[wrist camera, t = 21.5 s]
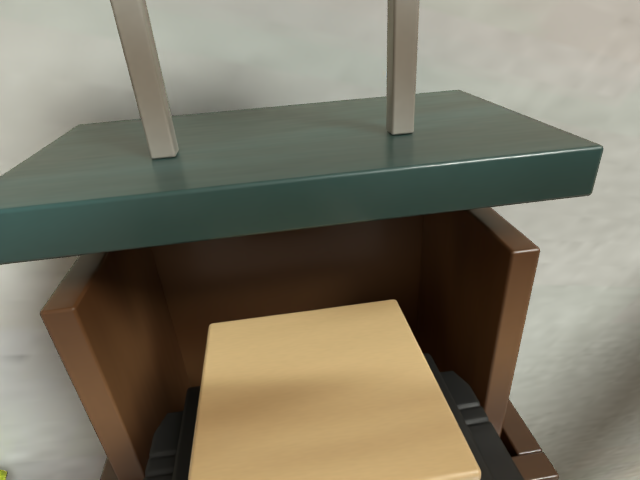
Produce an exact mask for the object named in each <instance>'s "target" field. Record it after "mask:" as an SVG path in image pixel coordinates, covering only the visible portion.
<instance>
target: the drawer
mask: <svg viewBox="0 0 640 480" xmlns="http://www.w3.org/2000/svg"><path fill="white" fill-rule="evenodd" d="M110 2H111V6H112V9H113V13H114V17H115V21H116V25H117V29H118V33H119V36H120V40H121V44H122V48H123V52H124V56H125V60H126V63H127V67H128V71H129V75H130V79H131V83H132V86H133V90H134V94H135V98H136V102H137V106H138V110H139V113H140V117H141V119H135V120H124V121H113V122H102V123H91V124H80V125H78V126H76V127H75V128H73V129H72V130H70V131H69V132H67V133H66V134H64V135H63V136H61V137H60V138H58V139H57V140H55V141H54V142H52V143H50V144H49V145H47V146H46V147H44V148H43V149H41V150H40V151H38V152H37V153H35V154H34V155H32V156H31V157H29V158H28V159H26V160H25V161H23V162H22V163H20V164H19V165H17V166H16V167H14V168H13V169H11V170H10V171H8V172H6V173H5V174H3V175H2V176H0V265H2V264H10V263H19V262H27V261H36V260H44V259H53V258H61V257H70V256H78V255H80V256H79V257H78V259H77V260H76V262H75V263H74V265H73V266H72V267H71V269H70V270H69V272H68V273H67V274H66V276H65V277H64V279H63V280H62V282H61V283H60V284H59V286H58V287H57V289H56V290H55V291H54V293H53V294H52V296H51V297H50V299H49V300H48V301H47V303H46V304H45V306H44V307H43V308H42V310H41V311H40V316H41V318H42V320H43V322H44V324H45V326H46V328H47V330H48V333H49V335H50V337H51V339H52V341H53V343H54V345H55V347H56V349H57V352H58V354H59V356H60V358H61V360H62V362H63V364H64V366H65V368H66V371H67V373H68V375H69V377H70V379H71V381H72V383H73V385H74V387H75V389H76V392H77V394H78V396H79V398H80V400H81V402H82V404H83V406H84V408H85V411H86V413H87V415H88V417H89V419H90V421H91V423H92V425H93V427H94V430H95V432H96V434H97V436H98V438H99V440H100V442H101V444H102V446H103V449H104V451H105V453H106V455H107V457H108V459H109V461H110V463H111V465H112V467H113V470H114V472H115V474H116V476H117V478H118V480H144V478H145V471H146V466H147V462H148V460H149V453H150V449H151V445H152V440H153V436H154V433H155V431H156V430H157V428H158V427H159V425H160V424H161V422H162V420H163V419H164V417H165V416H166V414H167V413H173V412H179V411H183V410H184V404H185V398H186V393H187V390H188V388H189V387H195V386H201V379H202V371H203V364H204V356H205V349H206V342H207V334H208V328H209V325H210V324H212V323H219V322H226V321H234V320H241V319H249V318H256V317H264V316H271V315H279V314H286V313H294V312H301V311H309V310H316V309H324V308H331V307H339V306H346V305H354V304H361V303H369V302H376V301H384V300H392V299H394V300H396V301H397V302H398V304H399V306H400V308H401V311H402V313H403V315H404V317H405V319H406V321H407V323H408V325H409V327H410V329H411V331H412V333H413V335H414V337H415V339H416V341H417V343H418V345H419V347H420V349H421V351H422V353H429V354H430V355H431V356H432V358H433V360H434V362H435V364H436V366H437V368H438V370H439V372H446V371H454V372H455V373H456V374H457V375H458V376H460V377H461V378H462V379H463V380H464V381H465V382H467V383H468V384H469V385H470V387H471V389H472V390H473V392H474V394H475V395H476V397H477V399H478V401H479V402H480V406H482V408H483V409H484V411H485V413H486V414H487V416H488V419H489V422H491V423H492V425H493V427H494V428H495V430H496V432H497V433H498V435H499V437H500V436H501V431H502V427H503V422H504V417H505V413H506V408H507V403H508V399H509V394H510V389H511V385H512V380H513V375H514V371H515V366H516V361H517V357H518V352H519V347H520V342H521V338H522V333H523V328H524V324H525V319H526V314H527V310H528V305H529V300H530V296H531V291H532V286H533V282H534V277H535V272H536V268H537V263H538V258H539V253H540V249H539V247H538V246H536V245H535V244H534V243H533V242H532V241H530V240H529V239H528V238H527V237H526V236H524V235H523V234H522V233H521V232H520V231H518V230H517V229H516V228H515V227H514V226H512V225H511V224H510V223H509V222H508V221H506V220H505V219H504V218H503V217H502V216H500V215H499V214H498V213H497V212H496V211H494V210H493V209H492V208H491V207H495V206H504V205H512V204H521V203H529V202H538V201H546V200H555V199H563V198H572V197H580V196H589V195H591V193H592V191H593V187H594V183H595V179H596V175H597V172H598V168H599V164H600V160H601V156H602V153H603V146H602V145H599V144H596V143H594V142H591V141H589V140H586V139H584V138H581V137H579V136H576V135H573V134H571V133H568V132H566V131H563V130H561V129H558V128H556V127H553V126H550V125H548V124H545V123H543V122H540V121H538V120H535V119H532V118H530V117H527V116H525V115H522V114H520V113H517V112H515V111H512V110H509V109H507V108H504V107H502V106H499V105H497V104H494V103H492V102H489V101H486V100H484V99H481V98H479V97H476V96H474V95H471V94H469V93H466V92H463V91H461V90H452V91H441V92H430V93H419V94H415V90H416V66H417V43H418V20H419V0H388V21H387V97H376V98H365V99H354V100H343V101H332V102H321V103H310V104H299V105H288V106H277V107H266V108H255V109H244V110H234V111H223V112H212V113H201V114H190V115H179V116H171V112H170V108H169V103H168V99H167V94H166V90H165V85H164V81H163V77H162V72H161V68H160V63H159V59H158V54H157V50H156V46H155V41H154V37H153V32H152V28H151V23H150V19H149V14H148V10H147V6H146V1H145V0H110Z"/></svg>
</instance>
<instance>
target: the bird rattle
mask: <svg viewBox="0 0 640 480" xmlns="http://www.w3.org/2000/svg"><path fill="white" fill-rule="evenodd" d="M6 476H7V471H4V470H0V480H6Z"/></svg>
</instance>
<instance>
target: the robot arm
mask: <svg viewBox="0 0 640 480" xmlns="http://www.w3.org/2000/svg"><path fill="white" fill-rule="evenodd" d="M423 355H424V357H425V359H426V361H427V363H428V365H429V367H430V369H431V371H432V373H433V375H434V377H435V379H436V381H437V383H438V385H439V387H440V389H441V391H442V393H443V395H444V397H445V399H446V401H447V403H448V405H449V407H450V409H451V411H452V413H453V415H454V417H455V419H456V421H457V423H458V425H459V427H460V429H461V431H462V434H463V436H464V438H465V440H466V442H467V444H468V446H469V448H470V450H471V452H472V454H473V456H474V458H475V460H476V462H477V464H478V466H479V468H480V470H481V479H480V480H524V478H523V477H522V475H521V473H520V471H519V470H518V468H517V466H516V465H515V463H514V461H513V459H512V458H511V456H510V454H509V452H508V451H507V449H506V447H505V446H504V444H503V442H502V440H501V439H500V437H499V435H498V433H497V432H496V430H495V428H494V427H493V425H492V423H491V422H489V419H488V416H487V414H486V413H485V411H484V409H483V408H482V406H480V402H479V401H478V399H477V397H476V395H475V394H474V392H473V390H472V389H471V387H470V385H469V384H468V383H467V382H465V381H464V380H463V379H462V378H461V377H460V376H458V375H457V374H456V373H455V372H454V371H446V372H439V370H438V368H437V366H436V364H435V362H434V360H433V358H432V356H431V355H430V354H429V353H423ZM199 393H200V386H195V387H189V388H188V390H187V393H186V398H185V404H184V410H183V411H179V412H173V413H167V414H166V416H165V417H164V419H163V420H162V422H161V424H160V425H159V427H158V428H157V430H156V431H155V433H154V436H153V440H152V445H151V449H150V453H149V460H148V462H147V466H146V471H145V478H144V480H188V474H189V467H190V460H191V452H192V445H193V437H194V430H195V423H196V415H197V408H198V401H199Z"/></svg>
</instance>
